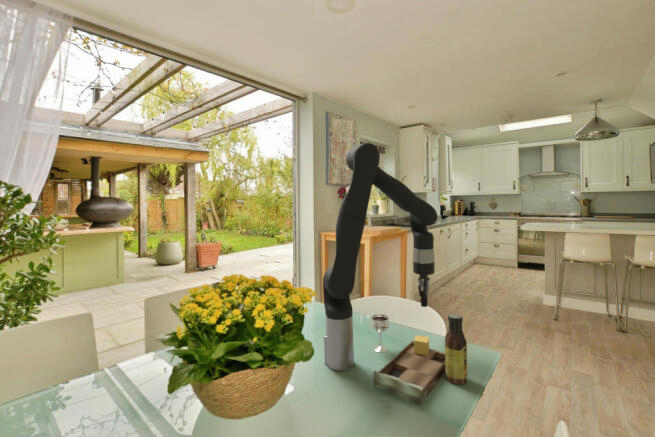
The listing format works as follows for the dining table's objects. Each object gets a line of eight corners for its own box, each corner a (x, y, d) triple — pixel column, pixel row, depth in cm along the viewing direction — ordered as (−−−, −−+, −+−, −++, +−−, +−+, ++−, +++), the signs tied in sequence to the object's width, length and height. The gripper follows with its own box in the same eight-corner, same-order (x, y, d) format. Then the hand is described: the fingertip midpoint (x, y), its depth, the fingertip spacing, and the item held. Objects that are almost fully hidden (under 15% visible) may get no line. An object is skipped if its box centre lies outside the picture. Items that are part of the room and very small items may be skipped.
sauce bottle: (469, 386, 90) (469, 321, 89) (447, 384, 91) (446, 320, 90) (464, 374, 96) (464, 312, 95) (443, 372, 98) (443, 311, 96)
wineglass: (367, 348, 114) (367, 317, 113) (379, 342, 119) (378, 312, 118) (382, 355, 109) (381, 322, 108) (393, 348, 114) (393, 317, 113)
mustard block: (414, 353, 106) (414, 340, 106) (416, 347, 110) (416, 335, 110) (427, 355, 104) (427, 342, 104) (429, 349, 108) (429, 337, 108)
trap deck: (373, 386, 92) (373, 371, 91) (412, 348, 113) (412, 336, 113) (420, 405, 82) (419, 389, 82) (452, 361, 104) (452, 348, 104)
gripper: (415, 256, 120) (416, 299, 121) (410, 263, 108) (411, 311, 109) (435, 257, 117) (436, 301, 118) (432, 264, 105) (433, 313, 106)
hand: (424, 306), depth 113 cm, fingers closed
